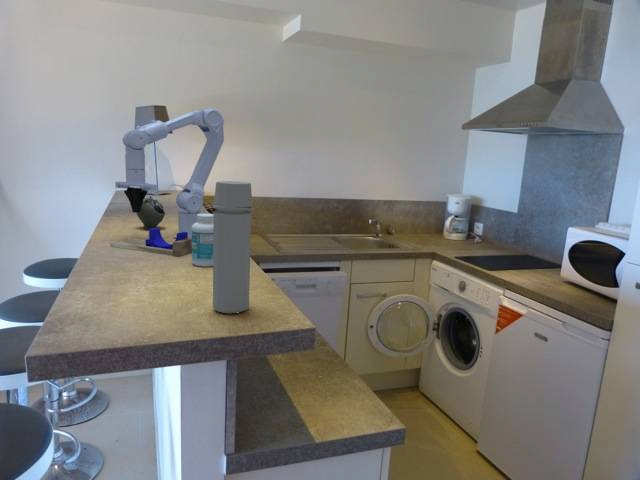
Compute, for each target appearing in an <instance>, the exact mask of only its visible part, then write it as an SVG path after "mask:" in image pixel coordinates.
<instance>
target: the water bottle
mask: <svg viewBox="0 0 640 480" xmlns="http://www.w3.org/2000/svg"><path fill="white" fill-rule="evenodd" d="M213 200H214V201H213V205H212V206H211V208H213V209H215V210H214V211H213V213H212V214H213V266H212V269H213V270H212V308H213V309H214V310H215V311H216V312H217V311H218V313H219V312H223V313H237V312H242V311H244V312H246V311H247V310H248V309H249V306H250V285H251V284H250V279H251V278H250V277H251V275H250V273H251V241H252V239H251V238H252V237H251V236H252V235H251V234H252V233H251V232H252V230H251V229H252V228H251V227H252V212H251V211H254V210H255V208H253V207H252V206H253V195H252V183H251V182H249V181H235V180H234V181H233V180H227V181H226V180H221V181H220V180H219V181H216V182H215V191H214V199H213ZM245 310H246V311H245ZM223 313H222V314H223ZM242 313H243V312H242Z"/></svg>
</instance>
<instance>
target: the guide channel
mask: <svg viewBox="0 0 640 480" xmlns="http://www.w3.org/2000/svg"><path fill="white" fill-rule="evenodd" d="M127 242H128V243H127ZM127 242H119V241H111V242H109V247H110V248H111V247H112V248H117V249H118V248H120V249H127V250H132V251H140V252H147V253H154V254H160V255H167V256H172V257H177V258H180V257H182V256H185V255H189V254H192V237H191V238H187V239H183V240H179V241H175V240H174V241H172V242H168V243H169V244H173V250H169V249H162V248H155V247H148V246H146V239H142V238H134V237H129V238H127Z"/></svg>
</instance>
